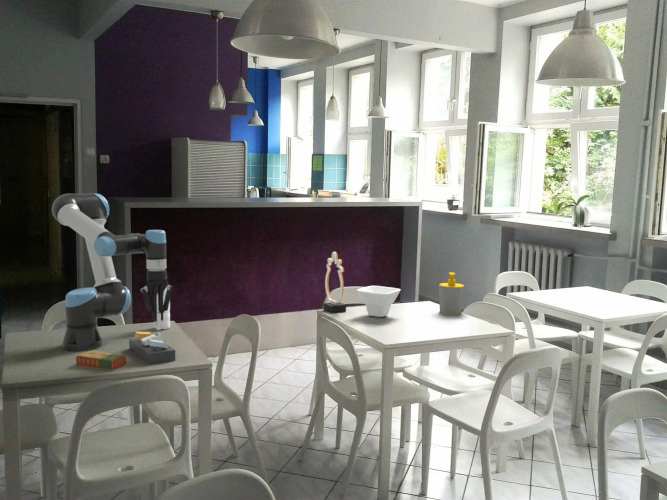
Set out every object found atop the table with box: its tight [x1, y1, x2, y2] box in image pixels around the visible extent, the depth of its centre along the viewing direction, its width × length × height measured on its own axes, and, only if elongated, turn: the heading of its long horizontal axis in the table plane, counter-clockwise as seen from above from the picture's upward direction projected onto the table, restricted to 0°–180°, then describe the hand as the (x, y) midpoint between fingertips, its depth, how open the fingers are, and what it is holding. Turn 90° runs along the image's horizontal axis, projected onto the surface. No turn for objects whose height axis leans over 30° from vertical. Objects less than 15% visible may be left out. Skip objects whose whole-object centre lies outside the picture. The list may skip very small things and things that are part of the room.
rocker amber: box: [134, 331, 156, 338], centre depth 248 cm, size 7×4×2 cm, turn 125°
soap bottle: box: [438, 272, 465, 315], centre depth 328 cm, size 13×13×21 cm
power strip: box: [128, 337, 176, 365], centre depth 245 cm, size 10×33×5 cm, turn 35°
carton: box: [75, 350, 127, 371], centre depth 227 cm, size 8×16×4 cm, turn 71°
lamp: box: [322, 251, 347, 314], centre depth 325 cm, size 17×9×32 cm, turn 31°
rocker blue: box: [147, 339, 170, 348], centre depth 235 cm, size 7×4×2 cm, turn 125°
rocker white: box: [141, 332, 163, 346], centre depth 241 cm, size 7×4×2 cm, turn 125°
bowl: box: [356, 285, 401, 318], centre depth 315 cm, size 19×19×14 cm
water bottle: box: [153, 287, 171, 330], centre depth 283 cm, size 7×7×25 cm
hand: (158, 328), depth 242 cm, fingers closed
